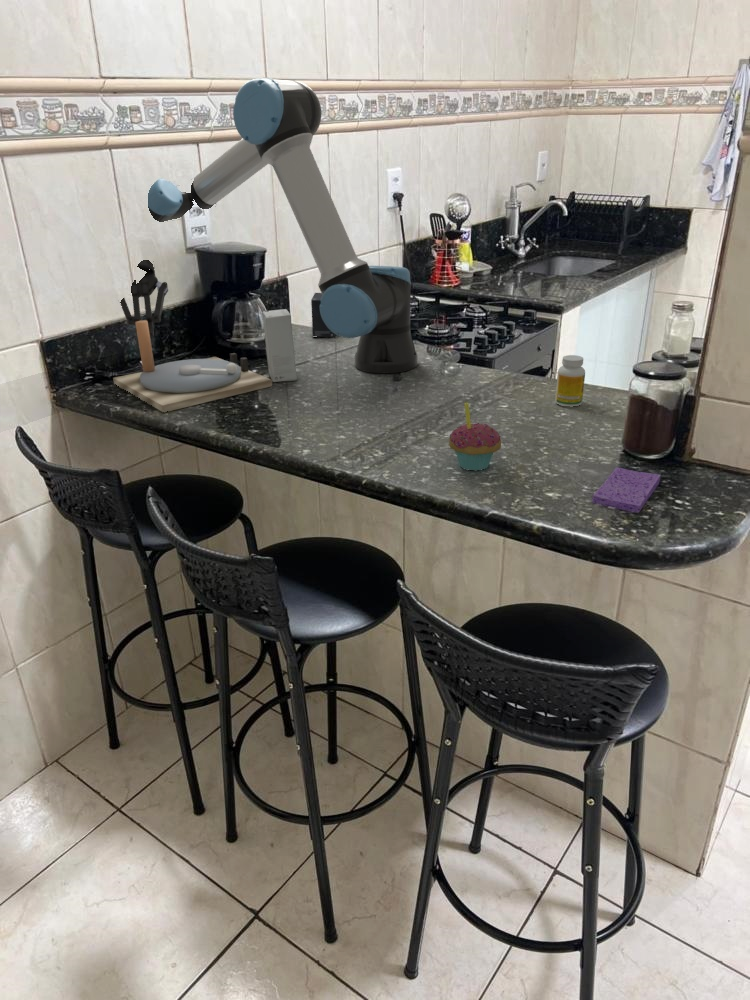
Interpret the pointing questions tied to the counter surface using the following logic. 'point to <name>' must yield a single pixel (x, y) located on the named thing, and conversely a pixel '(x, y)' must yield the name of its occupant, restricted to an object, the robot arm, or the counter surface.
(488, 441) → the cupcake
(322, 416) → the counter surface
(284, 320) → the skincare box
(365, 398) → the counter surface
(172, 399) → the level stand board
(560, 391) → the supplement bottle
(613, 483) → the sponges
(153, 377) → the cam disc
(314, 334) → the small box
